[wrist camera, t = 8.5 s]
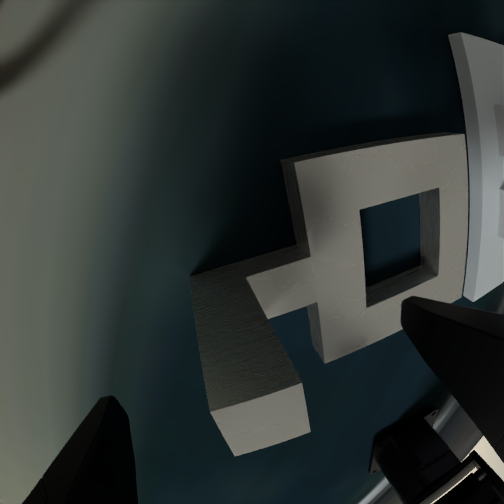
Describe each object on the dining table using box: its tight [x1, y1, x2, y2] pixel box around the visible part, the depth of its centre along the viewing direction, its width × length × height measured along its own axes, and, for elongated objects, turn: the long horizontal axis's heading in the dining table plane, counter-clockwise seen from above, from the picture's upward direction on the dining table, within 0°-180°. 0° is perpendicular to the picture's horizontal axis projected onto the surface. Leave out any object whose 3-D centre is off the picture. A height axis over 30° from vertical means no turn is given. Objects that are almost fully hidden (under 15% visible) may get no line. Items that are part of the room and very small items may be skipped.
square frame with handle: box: [189, 132, 468, 456], centre depth 10 cm, size 14×9×7 cm, turn 103°
